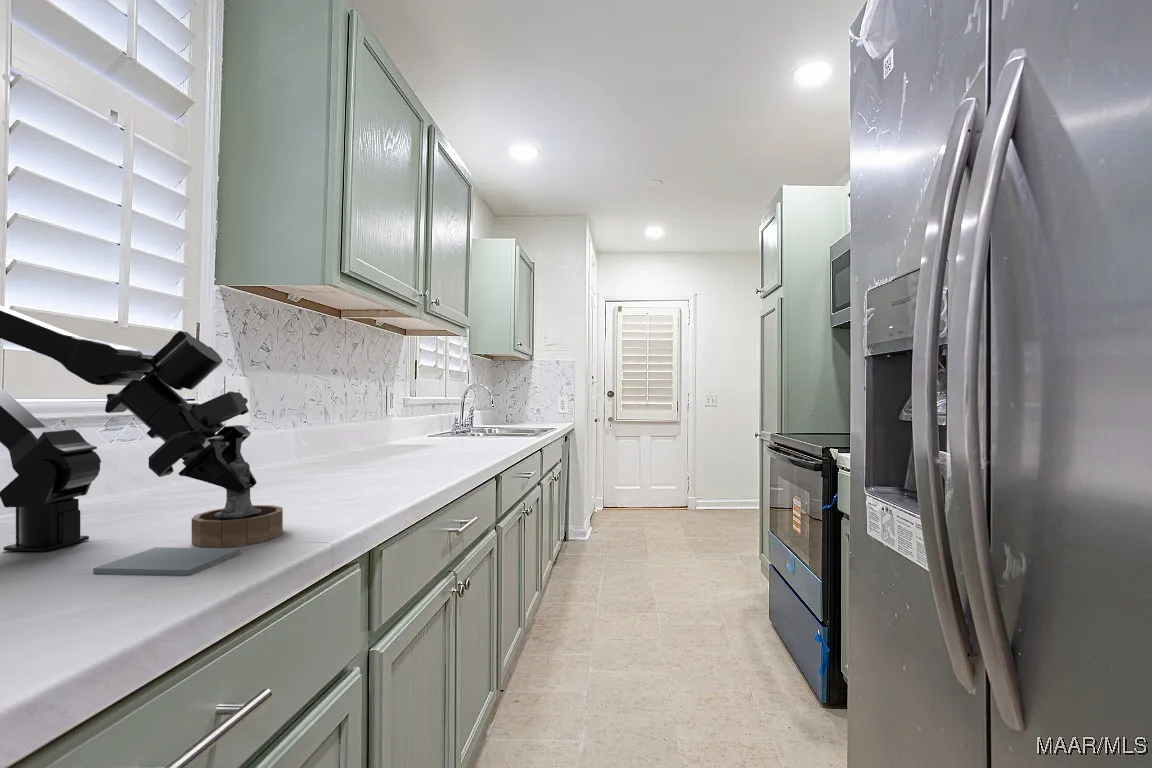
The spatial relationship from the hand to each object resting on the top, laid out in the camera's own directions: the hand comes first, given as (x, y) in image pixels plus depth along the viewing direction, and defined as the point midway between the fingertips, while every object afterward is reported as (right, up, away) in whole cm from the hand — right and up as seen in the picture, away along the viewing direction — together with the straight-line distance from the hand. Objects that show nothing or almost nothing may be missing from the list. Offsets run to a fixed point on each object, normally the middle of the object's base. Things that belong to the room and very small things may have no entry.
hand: (248, 487), depth 84 cm
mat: (-2, -7, -13) cm, 15 cm away
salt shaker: (-1, -7, 0) cm, 7 cm away
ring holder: (-1, -7, 0) cm, 7 cm away
